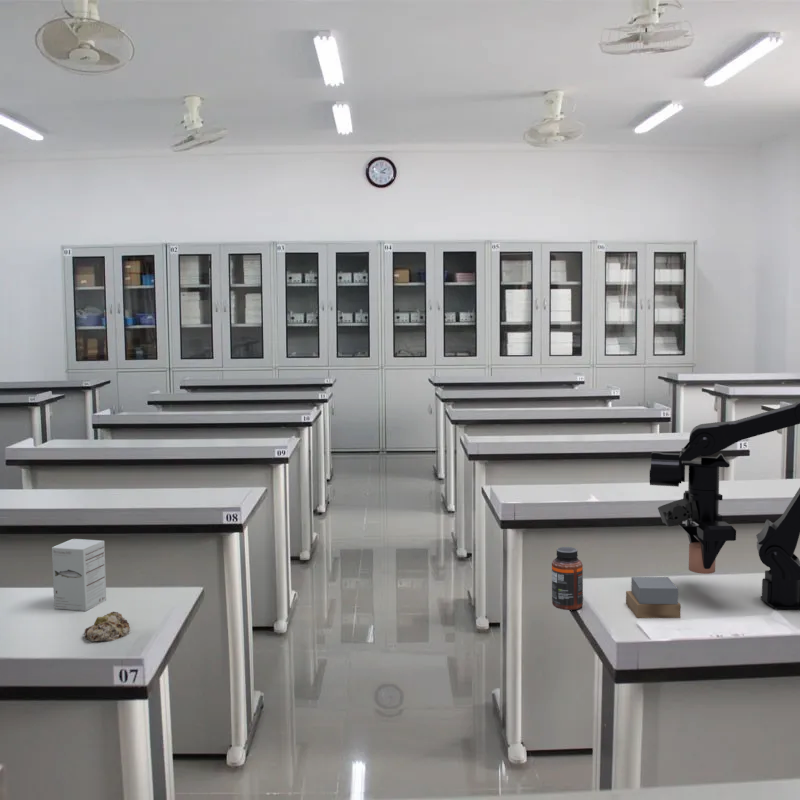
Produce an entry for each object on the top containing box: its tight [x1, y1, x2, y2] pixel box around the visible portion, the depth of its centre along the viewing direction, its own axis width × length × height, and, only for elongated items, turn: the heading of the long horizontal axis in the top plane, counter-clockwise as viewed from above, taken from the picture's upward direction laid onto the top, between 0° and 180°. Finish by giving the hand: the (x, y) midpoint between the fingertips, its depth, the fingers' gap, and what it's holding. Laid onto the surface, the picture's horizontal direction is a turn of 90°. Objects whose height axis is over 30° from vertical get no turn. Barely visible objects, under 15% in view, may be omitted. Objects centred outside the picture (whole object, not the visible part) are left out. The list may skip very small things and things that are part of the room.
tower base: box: [625, 590, 682, 619], centre depth 153 cm, size 8×8×3 cm
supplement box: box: [51, 538, 107, 612], centre depth 161 cm, size 7×7×13 cm
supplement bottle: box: [551, 546, 584, 611], centre depth 156 cm, size 6×6×11 cm
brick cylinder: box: [688, 542, 716, 575], centre depth 160 cm, size 5×5×5 cm
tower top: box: [630, 576, 679, 604], centre depth 153 cm, size 7×7×3 cm
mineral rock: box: [84, 611, 131, 642], centre depth 146 cm, size 11×4×8 cm
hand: (702, 564), depth 161 cm, fingers closed on brick cylinder, 5 cm apart
